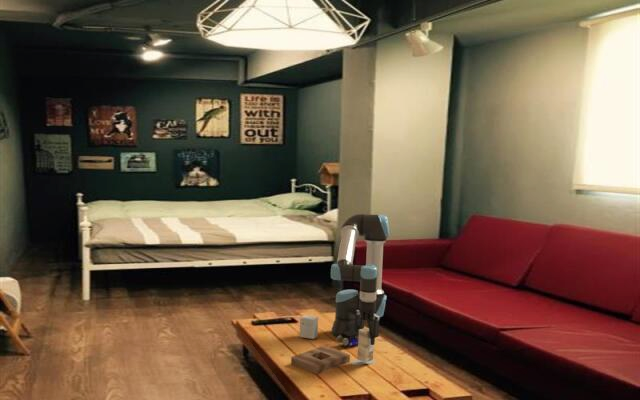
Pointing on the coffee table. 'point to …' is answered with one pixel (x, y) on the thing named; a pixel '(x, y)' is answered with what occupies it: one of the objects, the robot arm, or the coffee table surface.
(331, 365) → the pocket board
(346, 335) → the toy car
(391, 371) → the coffee table surface
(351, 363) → the pad
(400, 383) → the coffee table surface
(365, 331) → the beech block
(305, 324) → the small box
